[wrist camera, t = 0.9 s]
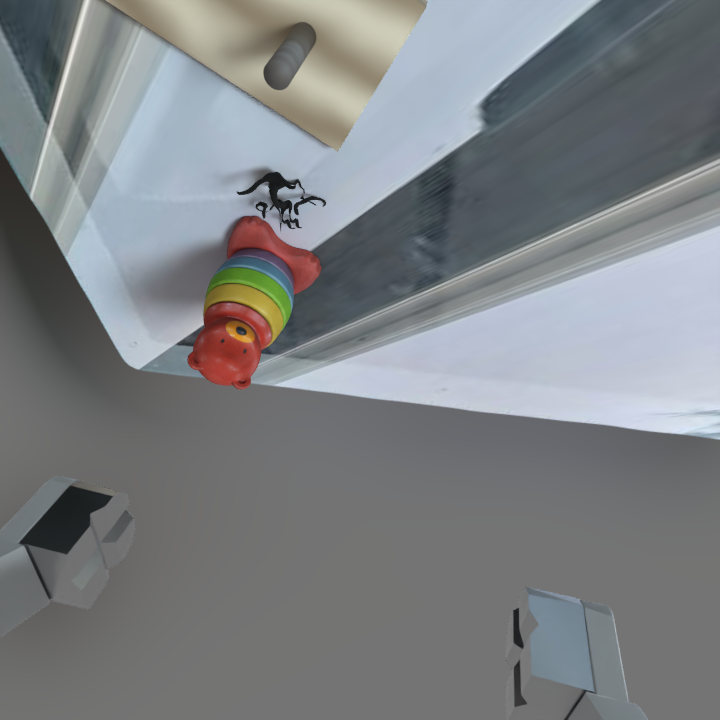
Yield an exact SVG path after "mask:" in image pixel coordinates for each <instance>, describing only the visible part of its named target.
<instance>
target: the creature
mask: <svg viewBox="0 0 720 720" xmlns="http://www.w3.org/2000/svg"><path fill="white" fill-rule="evenodd" d="M263 182H269V186H268V187H269V188H270V190H269V192H270V196H271V200H272V202H273V204H274V205H275V207H276V208H277V209H278V211H279V213H280V210H279V208H281V214H284V212H285V210H286V209H288V208H289V216H290V213H291V210H292V202H291V201H290V200H287V201H284V202H283V201H281V200H278V199H277V192H278V190H279V189H281V188H283V187H285V186H286V187H287V188H289V189H295V187H296V184H297V183H299V185H300V187H301V183H300V181H299V179H298V180H296V181H295V182H294V183H291V182H288V181H286V180H285V179H284V178H283V177H282V175H281V174H280V173H278V172H274V173H268V174H266V175H265V176H264V177H263V178H262V179H260V180H258V181H257V182H256V183H254V185H253V186H252V187H250V188H249V189H248V190H246V191H243V192H237V194H239V195H245V194H249V193H251V192H253V191H254V190H255V189H256V188H257V187H258V186H259V185H260V184H262V183H263ZM291 185H295V186H291ZM301 188H302V187H301ZM302 189H303V188H302ZM303 190H304V189H303ZM304 193H305V192H304ZM300 199H303V200H301V201H300V202H297V203H296V204H295V205H294V212H295V214H296V215H298V214H299V213H298V209H297V208H298V206H299V205H300V204H304V203H306V202H310V200H321V201H323V202H324V203H325V205H326V202H325V200H323V199H321V198H317V197H313V196H311V197H308V198H305V199H304V198H303V196H302V197H301V198H300ZM310 203H312V204H314V203H313V202H310ZM260 205H261V206H262V207H264V208H263V211H262V216H263V218H265V210H266V208H267V207H268V205H267V204H266V203H264V202H259V203H258V204H256V209H257V210H259V209H258V208H257V207H258V206H260ZM274 205H273V206H274ZM314 205H316V204H314ZM325 205H324V206H325ZM273 206H272V207H271V208H270V210H271V209H272V208H273ZM322 207H323V206H322ZM259 211H261V210H259ZM267 212H268V211H267ZM282 217H283V215H282ZM290 221H291V223H296V227H297V228H302V227H299V222H298V219H296V218H295V219H294V220H292V219H291V217H290ZM290 221H289V220H288V219H287V220H285V221H284V220H283V218H282V221H281V223H282V222H283V223H284V224H286V223H287V225H288V227H289V228H290V229H295V228H291V224H290ZM281 223H280V230H281Z"/></svg>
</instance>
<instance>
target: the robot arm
mask: <svg viewBox="0 0 720 720" xmlns="http://www.w3.org/2000/svg"><path fill="white" fill-rule="evenodd" d="M129 504H130V502H129V499H128V496H127V493H126V492H122V491H118V490H114V489H110V488H106V487H102V486H98V485H94V484H90V483H86V482H82V481H79V480H74V479H71V478H67V477H62V476H58V475H57V476H55V477H53V478H51V479H49V480H48V481H47V482H46V483H45V484H44V485H43V486H42V487H41V488H40V489H39V490H38V491H37V492H36V493H35V494H34V495H33V496H32V498H31V499H30V500H29V501H28V502H27V503H26V504H25V505H24V506H23V507H22V508H21V509H20V510H19V511H18V512H17V513H16V514H15V515H14V516H13V517H12V519H11V520H10V521H9V522H8V523H7V524H6V525H5V526H4V527H3V528H2V529H1V530H0V637H2V636H3V635H5V634H6V633H8V632H9V631H10V630H12V629H13V628H15V627H16V626H18V625H19V624H21V623H22V622H23V621H25V620H26V619H28V618H29V617H31V616H32V615H34V614H35V613H37V612H38V611H39V610H41V609H42V608H44V607H45V606H47V605H48V604H49V603H50V601H55V602H59V603H63V604H67V605H72V606H75V607H80V608H84V609H90V607H91V606H92V604H93V603H94V601H95V600H96V598H97V597H98V596H99V594H100V592H101V591H102V590H103V588H104V587H105V585H106V584H107V582H108V581H109V574H108V569H109V568H111V567H113V566H115V565H116V564H118V563H120V562H121V561H122V560H123V559H124V557H125V556H126V554H127V553H128V551H129V549H130V547H131V544H132V541H133V539H134V536H135V521H134V517H132V515H131V514H130V513H129V512H128V511H127V510H126V508H127V507H128V505H129ZM49 600H50V601H49ZM506 662H507V664H508V665H509V667H510V669H511V670H512V673H511V675H510V677H509V679H508V682H507V684H506V720H648V719H647V717H646V716H645V714H644V713H643V712H642V710H641V709H640V707H639V706H638V705H636V704H633V703H630V702H629V701H628V695H627V689H626V684H625V678H624V673H623V667H622V661H621V656H620V650H619V644H618V639H617V633H616V628H615V622H614V617H613V613H612V611H611V609H610V608H609V607H608V606H606V605H601V604H597V603H592V602H588V601H583V600H579V599H578V598H574V597H569V596H565V595H560V594H556V593H551V592H547V591H542V590H538V589H533V588H529V587H525V588H523V589H522V591H521V594H520V596H519V608H517V609H515V610H513V612H512V615H511V618H510V621H509V625H508V630H507V638H506Z"/></svg>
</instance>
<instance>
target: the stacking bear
mask: <svg viewBox="0 0 720 720" xmlns="http://www.w3.org/2000/svg"><path fill="white" fill-rule="evenodd" d="M227 258H228V260H227V261H226V262H225V263H224V264H223V265H222V266H221V267H220V268H219V269H218V271H217V272H216V273H215V275H214V276H213V278H212V280H211V282H210V284H209V287H208V290H207V294H206V301H205V305H204V313H203V316H204V325H205V328H204V329H203V330H202V331H201V332H200V334H199V335H198V337H197V339H196V341H195V344H194V348H193V352H192V353H190V354H189V356H188V364H189V366H190V367H191V368H193V369H195V370H199V372H200V373H201V374H202V375H203V376H204V377H205V378H206V379H207V380H209V381H211V382H213V383H215V384H218V385H225V386H228V385H229V386H230V385H233V386H234V387H236V388H237V389H245V388H247V387H248V386H249V385H250V383H251V379H250V377H251V376H252V374H253V373H254V372H255V370H256V368H257V366H258V364H259V361H260V357H261V350H262V349H264V348H266V347H268V346H269V345H270V344H271V343H272V342H273V341H274V340H275V339H276V338H277V336H278V335H279V333H280V332H281V331H282V329H283V328H284V326H285V325H286V323H287V321H288V319H289V317H290V314H291V311H292V307H293V301H294V295H295V294H297V293H299V292H301V291H303V290H305V289H306V288H307V287H309V286H310V285H311V284H312V283H313V282H314V281H315V280H316V278H317V277H318V276H319V274H320V272H321V265H320V264H319V263H320V261H319V259H318V258H317V257H316V256H314V255H313V254H312V253H311V252H310V251H307V250H304V249H299V248H295V247H292V246H290V245H288V244H286V243H284V242H283V241H282V240H281V239H279V238H278V237H277V236H276V234H275V232H274V231H273V229H272V228H271V226H270V225H269V224H268V223H267V222H266V221H264V220H262V219H260V218H259V217H257V216H253V217H250V216H247V217H244V218H242V219H241V220H240V221H239V222H238V223H237V225H236V226H235V228H234V230H233V232H232V234H231V236H230V239H229V243H228V250H227Z"/></svg>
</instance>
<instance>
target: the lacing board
mask: <svg viewBox="0 0 720 720" xmlns="http://www.w3.org/2000/svg"><path fill="white" fill-rule="evenodd" d="M106 1H107V2H109V3H110V4H112V5H113V6H115V7H116V8H118V9H119V10H121V11H123V12H124V13H126V14H127V15H129V16H130V17H132V18H133V19H135V20H136V21H138V22H139V23H141V24H142V25H144V26H146V27H147V28H149V29H150V30H152V31H153V32H155V33H156V34H158V35H159V36H161V37H162V38H164V39H166V40H167V41H169V42H170V43H172V44H173V45H175V46H176V47H178V48H179V49H181V50H182V51H184V52H186V53H187V54H189V55H190V56H192V57H193V58H195V59H196V60H198V61H199V62H201V63H202V64H204V65H205V66H207V67H209V68H210V69H212V70H213V71H215V72H216V73H218V74H219V75H221V76H222V77H224V78H225V79H227V80H229V81H230V82H232V83H233V84H235V85H236V86H238V87H239V88H241V89H242V90H244V91H245V92H247V93H249V94H250V95H252V96H253V97H255V98H256V99H258V100H259V101H261V102H262V103H264V104H265V105H267V106H268V107H270V108H272V109H273V110H275V111H276V112H278V113H279V114H281V115H282V116H284V117H285V118H287V119H288V120H290V121H292V122H293V123H295V124H296V125H298V126H299V127H301V128H302V129H304V130H305V131H307V132H308V133H310V134H311V135H313V136H315V137H316V138H318V139H319V140H321V141H322V142H324V143H325V144H327V145H328V146H330V147H331V148H333V149H335V150H336V151H338V150H339V149H340V147H341V145H342V144H343V142H344V140H345V139H346V137H347V136H348V134H349V132H350V131H351V129H352V127H353V126H354V124H355V123H356V121H357V119H358V118H359V116H360V114H361V113H362V111H363V109H364V108H365V106H366V105H367V103H368V101H369V100H370V98H371V96H372V95H373V93H374V92H375V90H376V88H377V87H378V85H379V83H380V82H381V80H382V78H383V77H384V75H385V74H386V72H387V70H388V69H389V67H390V65H391V64H392V62H393V61H394V59H395V57H396V56H397V54H398V52H399V51H400V49H401V47H402V46H403V44H404V43H405V41H406V39H407V38H408V36H409V34H410V33H411V31H412V29H413V28H414V26H415V25H416V23H417V21H418V20H419V18H420V16H421V15H422V13H423V12H424V10H425V8H426V5H427V1H426V0H106Z"/></svg>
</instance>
